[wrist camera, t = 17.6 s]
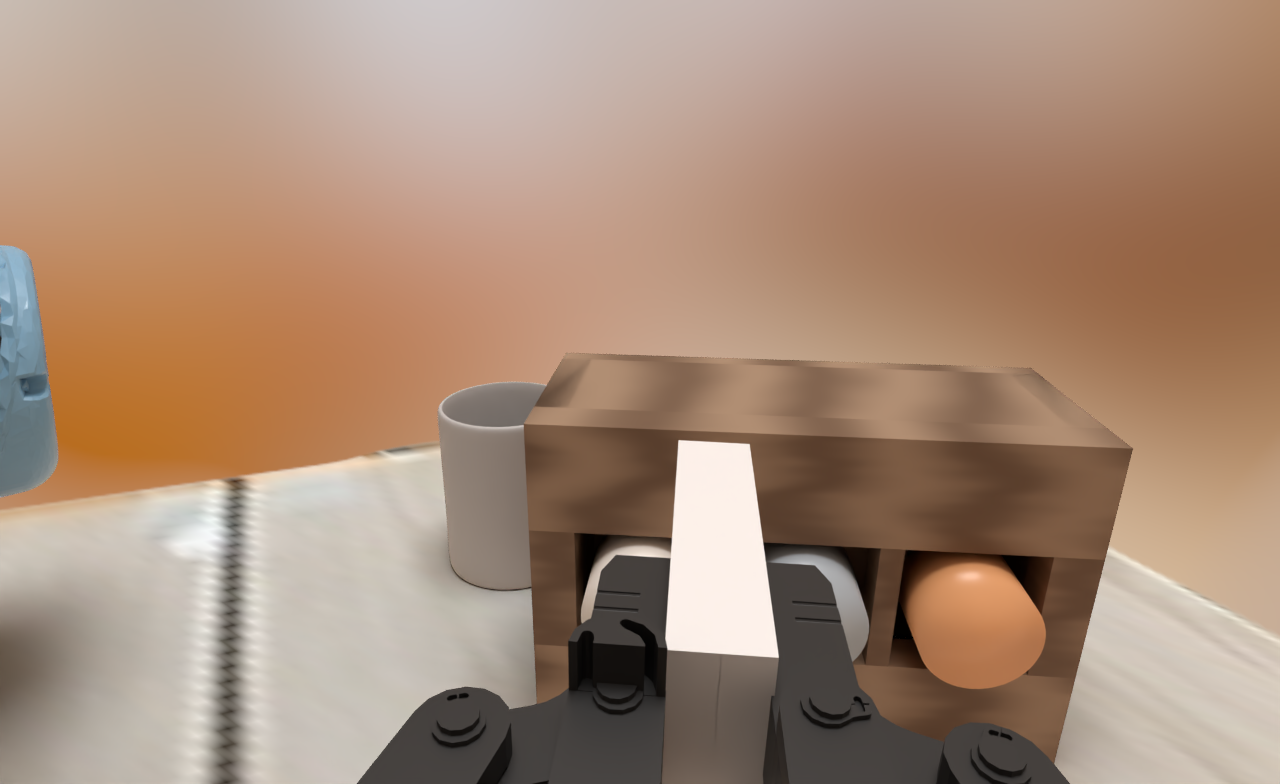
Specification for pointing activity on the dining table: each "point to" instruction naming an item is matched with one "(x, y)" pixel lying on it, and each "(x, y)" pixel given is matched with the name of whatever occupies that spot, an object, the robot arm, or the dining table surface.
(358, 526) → the dining table surface
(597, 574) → the white button
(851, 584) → the grey button
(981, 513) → the panel
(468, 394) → the mug
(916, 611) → the orange button
